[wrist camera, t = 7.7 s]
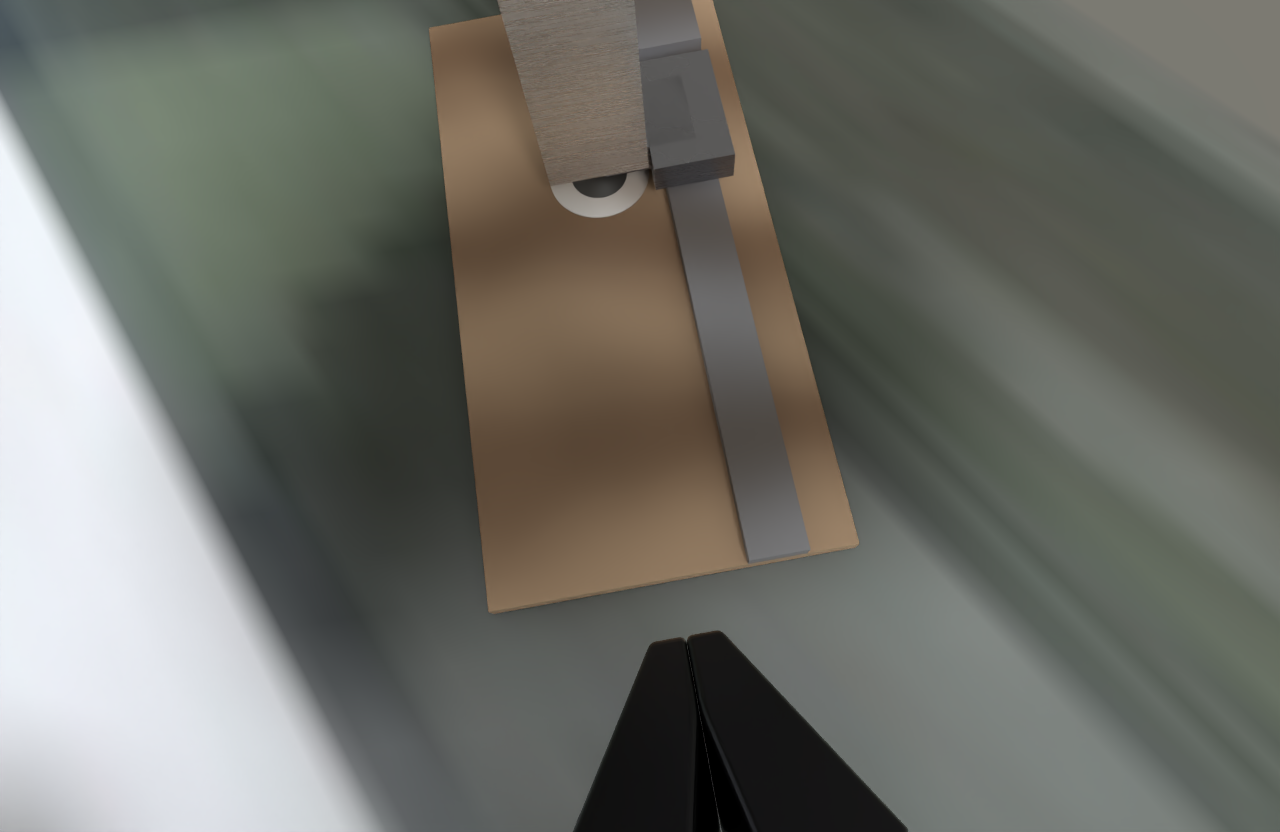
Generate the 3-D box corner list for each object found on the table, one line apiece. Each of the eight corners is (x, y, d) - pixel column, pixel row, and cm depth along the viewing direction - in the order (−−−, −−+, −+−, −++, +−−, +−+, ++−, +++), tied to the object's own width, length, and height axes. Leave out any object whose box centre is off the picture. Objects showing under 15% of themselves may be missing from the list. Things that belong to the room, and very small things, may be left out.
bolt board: (855, 547, 21) (1260, 191, 6) (493, 614, 21) (-7, 427, 6) (705, -10, 28) (719, -825, 13) (434, 41, 28) (131, -712, 13)
